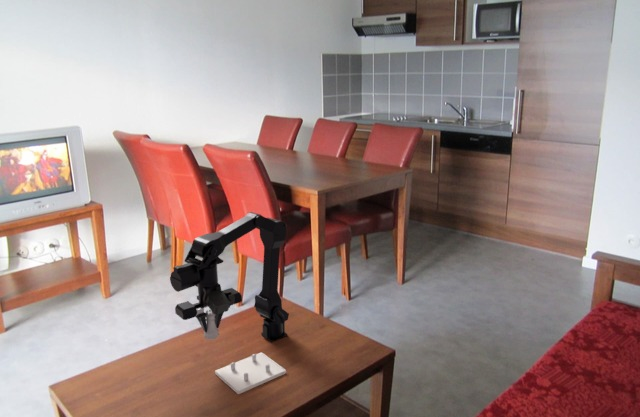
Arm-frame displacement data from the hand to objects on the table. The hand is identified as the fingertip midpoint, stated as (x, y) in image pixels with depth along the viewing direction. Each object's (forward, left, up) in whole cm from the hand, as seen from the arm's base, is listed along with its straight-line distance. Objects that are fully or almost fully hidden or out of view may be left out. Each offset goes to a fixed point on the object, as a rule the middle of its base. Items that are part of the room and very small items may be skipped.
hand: (211, 329), depth 158 cm
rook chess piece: (0, 0, -2) cm, 2 cm away
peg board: (-6, +11, -12) cm, 17 cm away
